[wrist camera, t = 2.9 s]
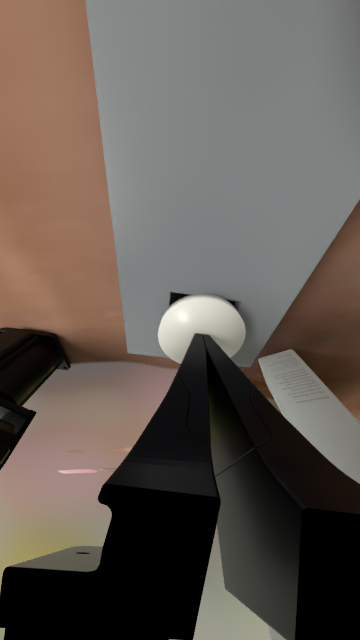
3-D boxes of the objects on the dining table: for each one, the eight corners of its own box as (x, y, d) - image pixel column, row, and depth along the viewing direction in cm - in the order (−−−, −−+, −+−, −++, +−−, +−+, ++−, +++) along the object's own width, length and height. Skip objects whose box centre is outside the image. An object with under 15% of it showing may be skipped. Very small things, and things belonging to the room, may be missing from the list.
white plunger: (215, 327, 14) (228, 370, 9) (165, 321, 13) (156, 362, 9) (232, 277, 11) (261, 307, 7) (170, 268, 11) (159, 293, 6)
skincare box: (296, 374, 19) (416, 530, 9) (264, 382, 20) (339, 526, 10) (293, 346, 16) (460, 528, 6) (256, 357, 18) (348, 523, 8)
